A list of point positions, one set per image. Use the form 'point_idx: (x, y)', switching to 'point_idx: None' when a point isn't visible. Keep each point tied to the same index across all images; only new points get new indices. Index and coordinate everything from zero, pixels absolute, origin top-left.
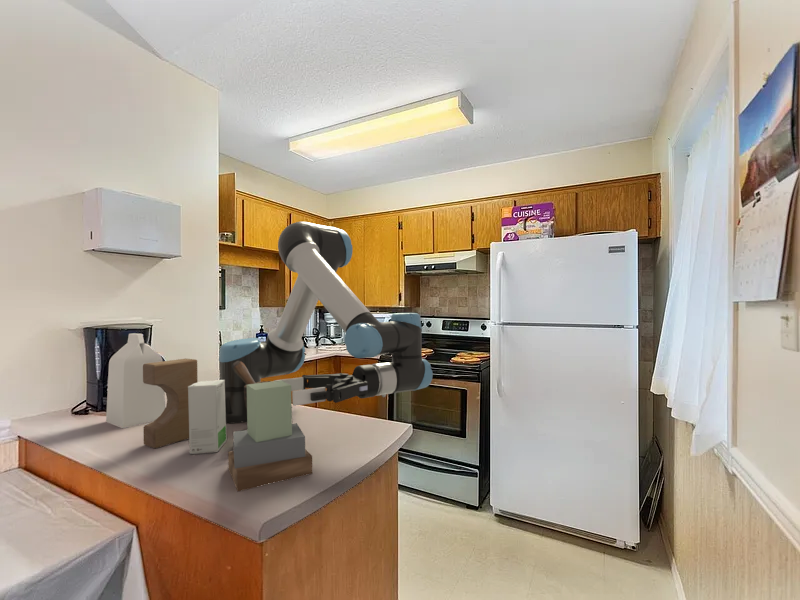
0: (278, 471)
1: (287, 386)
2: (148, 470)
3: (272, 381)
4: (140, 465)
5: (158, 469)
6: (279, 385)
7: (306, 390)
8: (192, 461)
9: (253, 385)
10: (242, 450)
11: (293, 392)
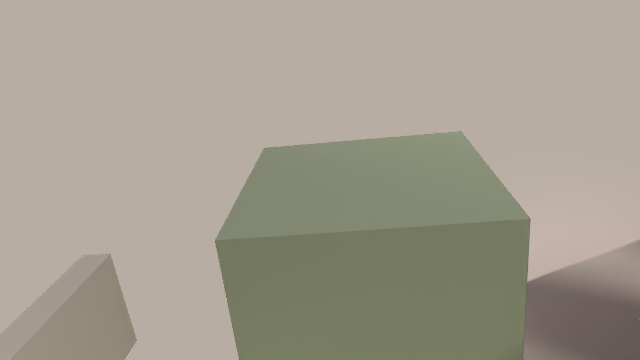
0: None
1: (223, 231)
2: (574, 274)
3: (502, 188)
4: (621, 261)
5: (575, 287)
6: (284, 201)
7: (17, 322)
8: (628, 345)
9: (407, 143)
10: None
11: (86, 260)
